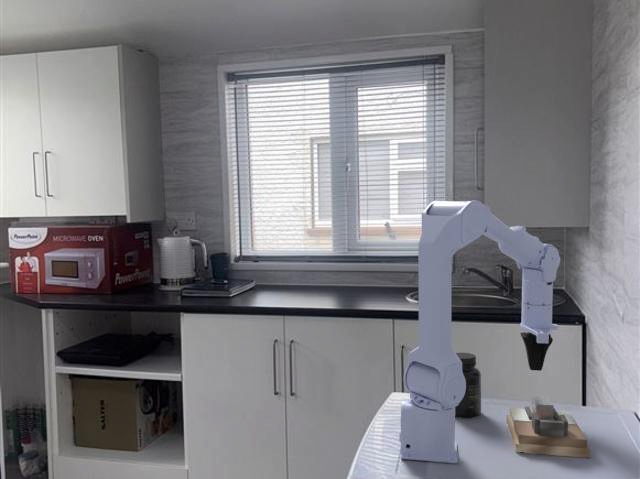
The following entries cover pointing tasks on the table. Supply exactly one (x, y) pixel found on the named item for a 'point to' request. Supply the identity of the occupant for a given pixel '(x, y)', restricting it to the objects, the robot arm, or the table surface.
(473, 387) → the supplement bottle
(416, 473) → the table surface
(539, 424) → the lock board
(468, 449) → the table surface
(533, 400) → the bolt
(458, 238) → the robot arm
